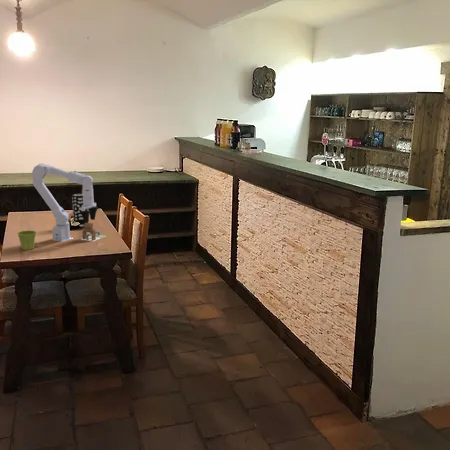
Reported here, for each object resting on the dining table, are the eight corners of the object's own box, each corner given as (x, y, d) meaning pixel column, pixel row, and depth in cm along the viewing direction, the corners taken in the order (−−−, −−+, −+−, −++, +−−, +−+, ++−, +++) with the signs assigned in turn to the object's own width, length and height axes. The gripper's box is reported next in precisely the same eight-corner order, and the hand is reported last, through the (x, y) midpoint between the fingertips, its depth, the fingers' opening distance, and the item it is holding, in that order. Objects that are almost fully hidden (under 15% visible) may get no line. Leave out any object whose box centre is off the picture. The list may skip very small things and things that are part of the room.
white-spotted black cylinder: (82, 228, 316) (80, 196, 312) (70, 227, 319) (69, 195, 315) (90, 225, 324) (88, 194, 319) (78, 224, 327) (77, 193, 322)
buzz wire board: (93, 242, 287) (93, 233, 285) (79, 240, 290) (79, 231, 288) (106, 236, 298) (106, 228, 297) (93, 235, 301) (92, 226, 300)
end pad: (101, 237, 294) (101, 237, 294) (89, 236, 297) (89, 235, 297) (105, 236, 298) (105, 235, 298) (92, 234, 301) (92, 234, 300)
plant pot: (36, 250, 268) (35, 234, 266) (17, 251, 266) (16, 235, 264) (37, 245, 277) (36, 230, 275) (19, 246, 274) (18, 231, 273)
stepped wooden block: (93, 240, 288) (92, 224, 286) (82, 239, 290) (81, 223, 288) (95, 239, 290) (95, 223, 288) (85, 238, 292) (84, 222, 290)
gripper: (88, 199, 280) (90, 224, 283) (100, 195, 294) (101, 218, 297) (76, 199, 282) (78, 223, 285) (89, 194, 295) (90, 218, 298)
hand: (89, 221), depth 291 cm, fingers open, 7 cm apart
